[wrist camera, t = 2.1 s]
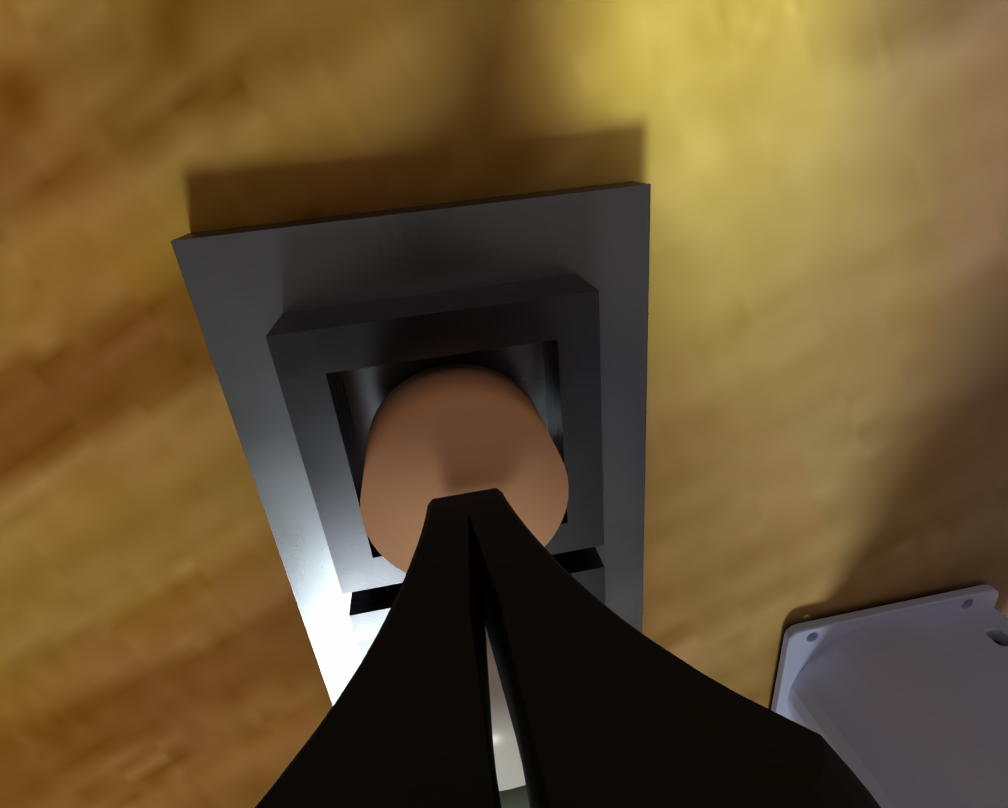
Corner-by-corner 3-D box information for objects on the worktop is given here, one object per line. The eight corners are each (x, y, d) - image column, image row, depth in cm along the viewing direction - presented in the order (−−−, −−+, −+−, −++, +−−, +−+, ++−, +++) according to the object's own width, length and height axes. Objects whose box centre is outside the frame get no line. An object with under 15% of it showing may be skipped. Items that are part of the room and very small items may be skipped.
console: (632, 181, 14) (684, 189, 12) (628, 794, 26) (654, 868, 23) (189, 233, 13) (134, 255, 10) (394, 849, 25) (393, 934, 22)
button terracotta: (536, 351, 13) (563, 393, 11) (547, 502, 15) (572, 564, 13) (350, 378, 13) (338, 428, 10) (386, 530, 15) (382, 600, 12)
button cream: (555, 599, 17) (578, 670, 14) (562, 696, 19) (583, 772, 16) (409, 628, 16) (409, 705, 14) (431, 724, 18) (435, 806, 16)
